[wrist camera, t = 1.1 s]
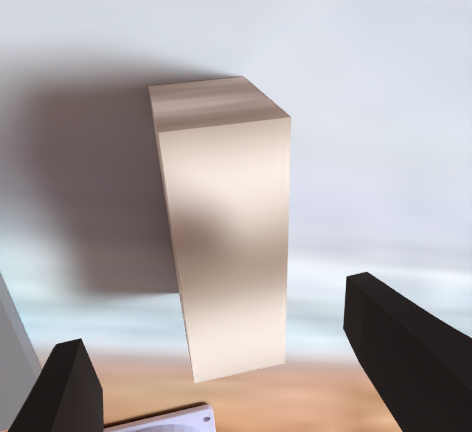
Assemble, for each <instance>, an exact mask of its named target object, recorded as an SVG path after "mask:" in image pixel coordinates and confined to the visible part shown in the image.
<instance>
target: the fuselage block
mask: <svg viewBox="0 0 472 432" xmlns="http://www.w3.org/2000/svg"><path fill="white" fill-rule="evenodd" d="M148 89H149V96H150V102H151V109H152V116H153V122H154V129H155V136H156V142H157V149H158V156H159V163H160V169H161V176H162V183H163V189H164V196H165V203H166V209H167V216H168V223H169V230H170V236H171V243H172V250H173V256H174V263H175V270H176V276H177V283H178V290H179V296H180V302H181V308H182V313H183V319H184V325H185V331H186V337H187V343H188V348H189V354H190V360H191V366H192V372H193V377H194V383H198V382H203V381H207V380H212V379H216V378H220V377H225V376H229V375H234V374H238V373H243V372H247V371H252V370H256V369H260V368H265V367H269V366H274V365H278V364H283V363H285V339H286V300H287V260H288V221H289V182H290V143H291V117H290V116H289V115H288V114H287V113H286V112H285V111H283V110H282V109H281V108H280V107H279V106H278V105H276V104H275V103H274V102H273V101H272V100H271V99H269V98H268V97H267V96H266V95H265V94H264V93H262V92H261V91H260V90H259V89H258V88H257V87H255V86H254V85H253V84H252V83H251V82H250V81H248V80H247V79H246V78H245V77H235V78H225V79H215V80H204V81H194V82H184V83H173V84H163V85H153V86H148Z"/></svg>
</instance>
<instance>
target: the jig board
mask: <svg viewBox="0 0 472 432" xmlns="http://www.w3.org/2000/svg"><path fill="white" fill-rule="evenodd" d="M41 371H42V368H41V366H40V364H39V361H38V359H37V357H36V354H35V352H34V350H33V347H32V345H31V343H30V340H29V338H28V336H27V333H26V331H25V329H24V326H23V324H22V322H21V319H20V317H19V315H18V312H17V310H16V308H15V305H14V303H13V301H12V298H11V296H10V294H9V291H8V289H7V287H6V284H5V282H4V280H3V277H2V275H1V273H0V431H3V430H7V429H9V428H10V427H11V425H12V423H13V421H14V420H15V418H16V416H17V414H18V413H19V411H20V409H21V407H22V406H23V404H24V402H25V400H26V399H27V397H28V395H29V393H30V391H31V390H32V388H33V386H34V384H35V382H36V380H37V379H38V377H39V375H40V373H41Z"/></svg>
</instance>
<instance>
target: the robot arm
mask: <svg viewBox="0 0 472 432" xmlns="http://www.w3.org/2000/svg"><path fill="white" fill-rule="evenodd" d="M343 329H344V331H345V333H346V336H347V338H348V340H349V342H350V344H351V347H352V349H353V351H354V353H355V355H356V357H357V359H358V361H359V363H360V364H361V366H362V368H363V369H364V371H365V372H366V374H367V376H368V377H369V379H370V380H371V382H372V384H373V385H374V387H375V389H376V390H377V392H378V393H379V395H380V396H381V398H382V400H383V401H384V403H385V404H386V406H387V408H388V409H389V411H390V412H391V414H392V415H393V417H394V419H395V420H396V422H397V423H398V425H399V427H400V428H401V430H402V431H403V432H472V338H470V337H469V336H467V335H465V334H463V333H462V332H460V331H458V330H456V329H455V328H453V327H451V326H450V325H448V324H446V323H445V322H443V321H441V320H440V319H438V318H436V317H435V316H433V315H432V314H430V313H428V312H427V311H425V310H424V309H422V308H421V307H419V306H418V305H416V304H415V303H413V302H411V301H410V300H408V299H407V298H405V297H404V296H402V295H401V294H399V293H398V292H396V291H395V290H394V289H392V288H391V287H389V286H388V285H386V284H385V283H383V282H382V281H380V280H379V279H377V278H376V277H374V276H373V275H371V274H370V273H368V272H364V273H360V274H355V275H351V276H347V278H346V293H345V309H344V325H343ZM8 432H216V430H215V422H214V414H213V408H212V406H210V405H202V406H198V407H194V408H189V409H185V410H181V411H177V412H172V413H168V414H164V415H160V416H156V417H151V418H147V419H143V420H139V421H134V422H130V423H126V424H122V425H118V426H113V427H109V428H105V429H104V422H103V389H102V387H101V384H100V382H99V379H98V377H97V375H96V372H95V370H94V368H93V365H92V363H91V360H90V358H89V356H88V353H87V351H86V349H85V346H84V344H83V341H82V339H76V340H72V341H68V342H63V343H59V344H56V345H55V347H54V348H53V350H52V352H51V354H50V356H49V358H48V359H47V361H46V363H45V365H44V367H43V369H42V371H41V373H40V375H39V377H38V379H37V380H36V382H35V384H34V386H33V388H32V390H31V391H30V393H29V395H28V397H27V399H26V400H25V402H24V404H23V406H22V407H21V409H20V411H19V413H18V414H17V416H16V418H15V420H14V421H13V423H12V425H11V427H10V428H9V430H8Z"/></svg>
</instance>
